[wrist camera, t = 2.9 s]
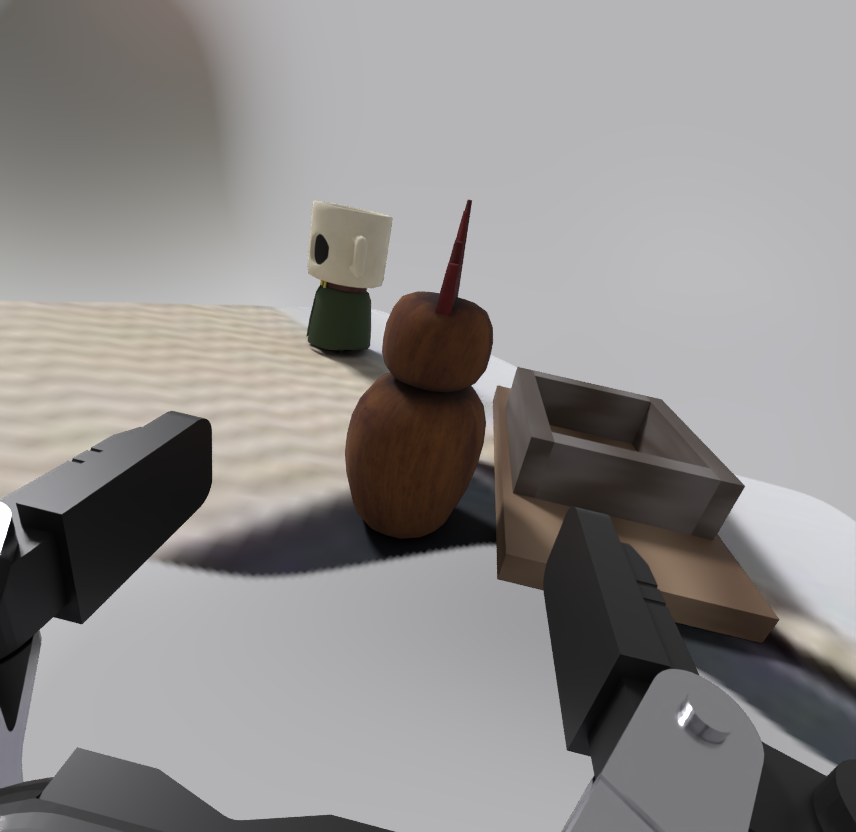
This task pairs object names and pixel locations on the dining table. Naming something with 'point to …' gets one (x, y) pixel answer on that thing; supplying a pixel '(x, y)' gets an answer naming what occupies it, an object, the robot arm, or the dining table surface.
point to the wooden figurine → (422, 410)
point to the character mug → (345, 273)
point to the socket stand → (620, 494)
